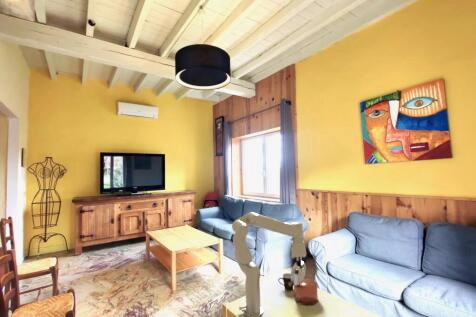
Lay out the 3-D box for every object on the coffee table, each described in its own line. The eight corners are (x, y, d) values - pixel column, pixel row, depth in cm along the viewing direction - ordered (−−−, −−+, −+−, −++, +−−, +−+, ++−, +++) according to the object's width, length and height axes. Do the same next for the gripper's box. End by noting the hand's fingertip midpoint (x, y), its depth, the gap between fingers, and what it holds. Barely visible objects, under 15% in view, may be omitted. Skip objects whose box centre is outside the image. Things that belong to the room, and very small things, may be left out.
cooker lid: (298, 290, 161) (295, 288, 160) (289, 278, 178) (286, 277, 177) (309, 266, 163) (305, 265, 162) (299, 257, 179) (295, 256, 179)
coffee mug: (295, 286, 188) (294, 273, 188) (293, 292, 180) (293, 278, 180) (280, 284, 192) (279, 272, 192) (278, 290, 184) (277, 277, 184)
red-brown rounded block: (300, 306, 161) (299, 290, 161) (291, 294, 177) (290, 279, 177) (322, 303, 163) (321, 287, 164) (311, 291, 179) (310, 277, 180)
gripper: (289, 242, 166) (290, 268, 165) (309, 240, 168) (311, 266, 168) (285, 239, 174) (286, 264, 173) (305, 237, 176) (306, 262, 175)
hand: (298, 265), depth 170 cm, fingers closed
